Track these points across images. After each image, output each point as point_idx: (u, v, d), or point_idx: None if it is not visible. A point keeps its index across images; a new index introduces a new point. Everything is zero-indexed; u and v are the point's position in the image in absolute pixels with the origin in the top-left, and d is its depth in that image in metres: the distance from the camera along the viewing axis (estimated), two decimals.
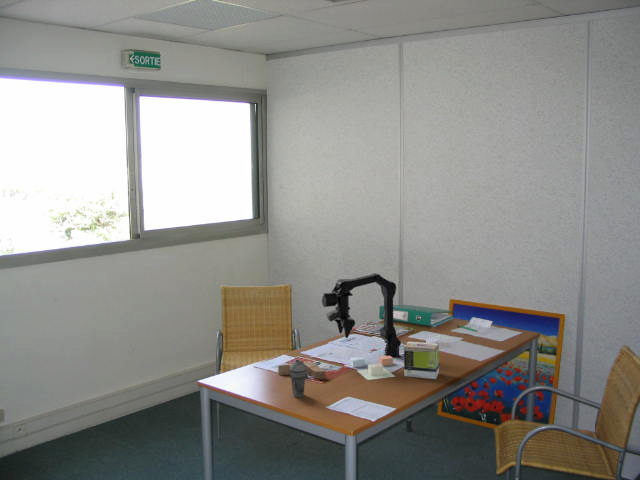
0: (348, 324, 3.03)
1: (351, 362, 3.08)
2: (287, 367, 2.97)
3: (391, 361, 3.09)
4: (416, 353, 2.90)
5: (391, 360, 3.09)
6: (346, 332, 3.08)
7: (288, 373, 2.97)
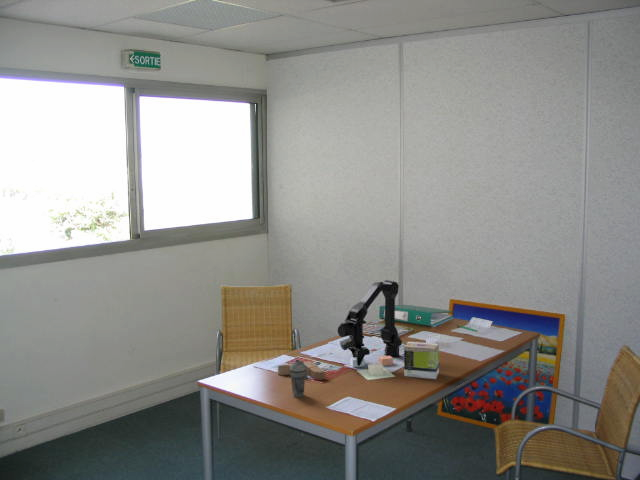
0: (363, 353, 2.99)
1: (351, 361, 3.08)
2: (287, 367, 2.96)
3: (391, 361, 3.09)
4: (416, 353, 2.90)
5: (391, 360, 3.09)
6: (358, 360, 3.06)
7: (288, 373, 2.97)
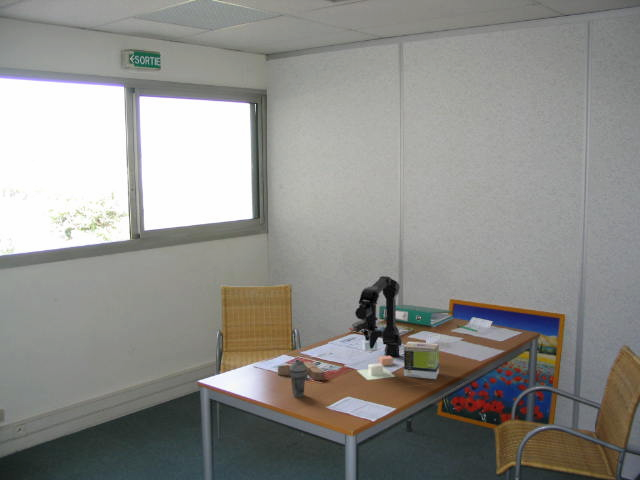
0: (375, 335, 2.89)
1: (363, 344, 2.98)
2: (287, 368, 2.96)
3: (391, 361, 3.09)
4: (416, 353, 2.90)
5: (391, 360, 3.09)
6: (371, 342, 2.95)
7: (288, 374, 2.96)
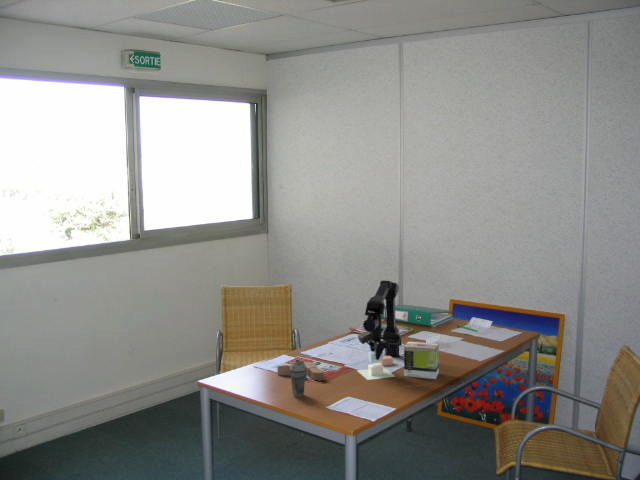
0: (382, 347, 2.86)
1: (369, 355, 2.95)
2: (286, 368, 2.96)
3: (391, 361, 3.09)
4: (416, 353, 2.90)
5: (391, 360, 3.09)
6: (377, 354, 2.93)
7: (287, 374, 2.96)
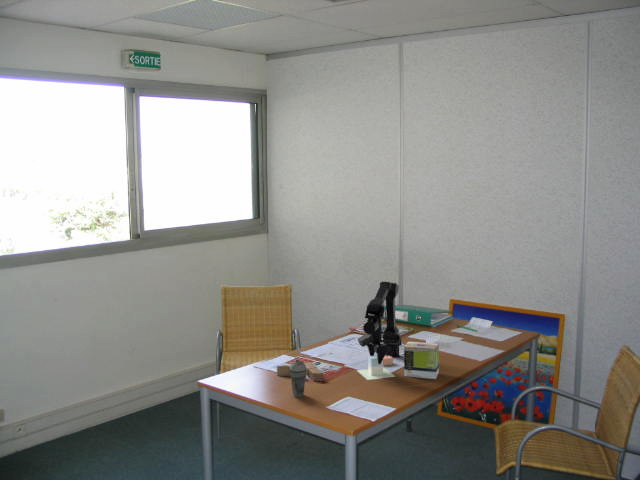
0: (382, 350, 2.86)
1: (369, 360, 2.96)
2: (286, 368, 2.95)
3: (391, 361, 3.09)
4: (416, 353, 2.90)
5: (391, 360, 3.09)
6: (379, 358, 2.91)
7: (287, 374, 2.96)
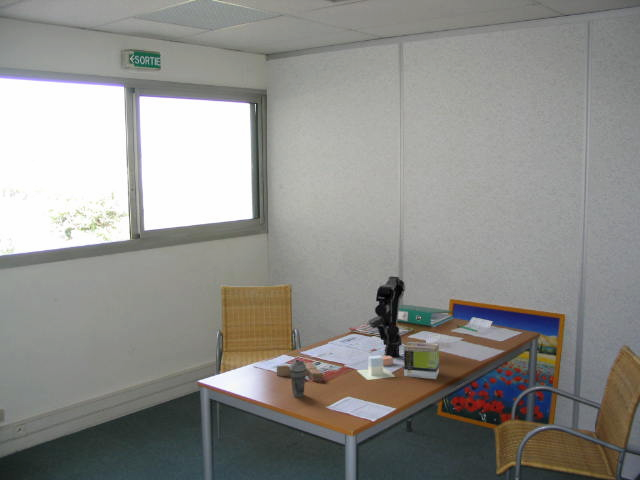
0: (392, 331, 2.99)
1: (369, 360, 2.96)
2: (286, 368, 2.95)
3: (391, 361, 3.09)
4: (416, 353, 2.90)
5: (391, 360, 3.09)
6: (389, 339, 3.03)
7: (286, 374, 2.95)
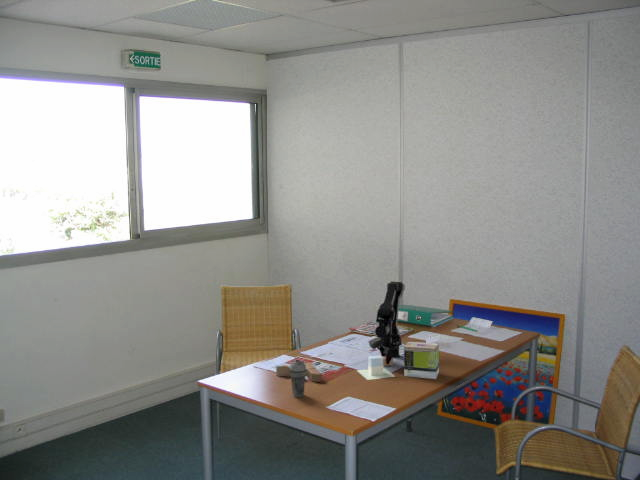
0: (392, 352, 3.00)
1: (369, 360, 2.96)
2: (285, 368, 2.95)
3: (391, 361, 3.09)
4: (416, 353, 2.90)
5: (391, 360, 3.09)
6: (387, 358, 3.07)
7: (286, 374, 2.95)
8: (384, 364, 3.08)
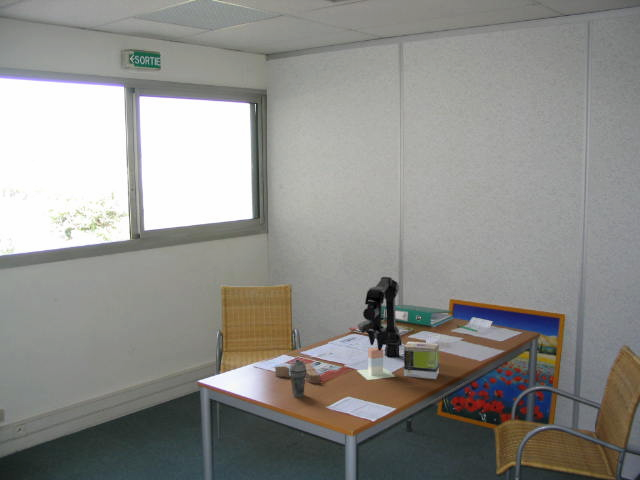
0: (382, 336, 2.86)
1: (369, 360, 2.96)
2: (284, 369, 2.94)
3: (381, 353, 2.95)
4: (416, 353, 2.90)
5: (381, 352, 2.95)
6: (379, 344, 2.90)
7: (284, 375, 2.94)
8: (374, 356, 2.94)
